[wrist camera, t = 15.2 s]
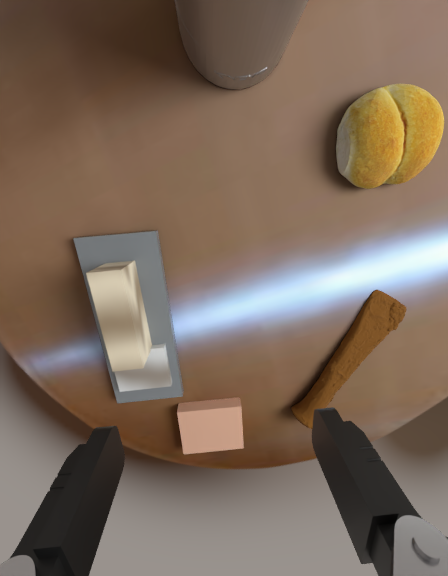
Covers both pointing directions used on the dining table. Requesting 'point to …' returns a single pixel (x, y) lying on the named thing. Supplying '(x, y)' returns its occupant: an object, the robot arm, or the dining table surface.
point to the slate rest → (154, 296)
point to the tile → (210, 425)
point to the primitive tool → (352, 352)
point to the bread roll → (388, 135)
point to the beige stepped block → (127, 328)
